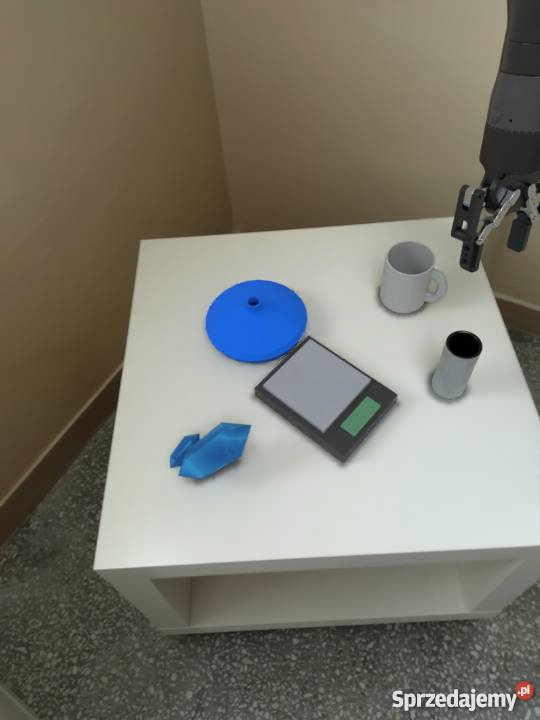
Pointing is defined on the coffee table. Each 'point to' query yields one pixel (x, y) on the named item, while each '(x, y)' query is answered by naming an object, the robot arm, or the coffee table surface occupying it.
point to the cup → (410, 277)
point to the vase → (256, 321)
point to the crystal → (210, 450)
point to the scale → (326, 397)
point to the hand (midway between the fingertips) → (492, 259)
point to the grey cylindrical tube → (456, 364)
